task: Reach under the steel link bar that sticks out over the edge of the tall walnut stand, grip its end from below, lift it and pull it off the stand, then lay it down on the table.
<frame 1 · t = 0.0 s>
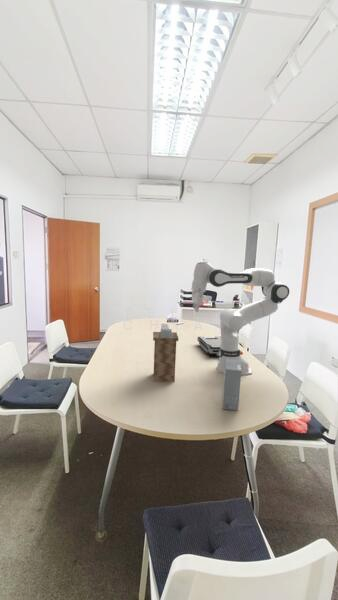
hand: (195, 309, 175), 39 cm above the table, tool pointing down, fingers open, 8 cm apart
walnut stand: (163, 377, 166), on the table
link bar: (165, 332, 167), point 26 cm above the table, touching walnut stand
game console: (215, 351, 221), on the table
hard drive box: (229, 402, 140), on the table
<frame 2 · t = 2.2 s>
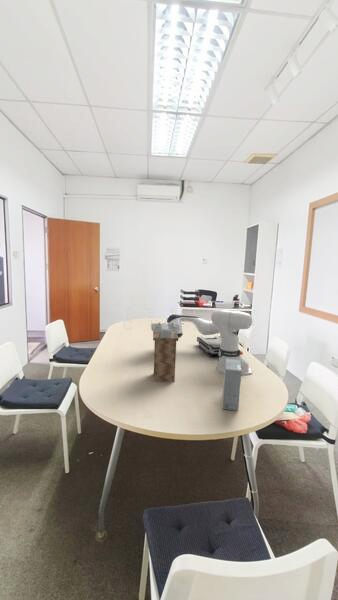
hand: (166, 323, 191), 26 cm above the table, tool pointing upward, fingers open, 8 cm apart
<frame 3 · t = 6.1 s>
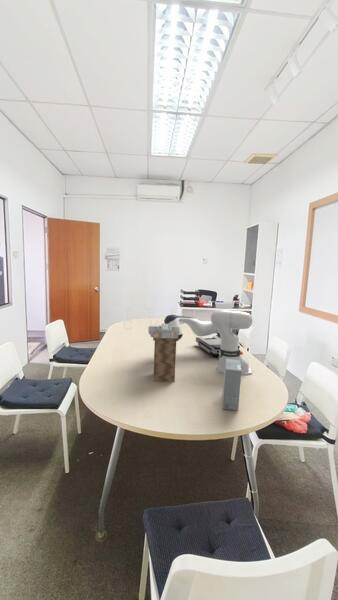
hand: (164, 326, 174), 28 cm above the table, tool pointing upward, fingers closed on link bar, 4 cm apart
link bar: (165, 332, 167), point 26 cm above the table, touching gripper, walnut stand
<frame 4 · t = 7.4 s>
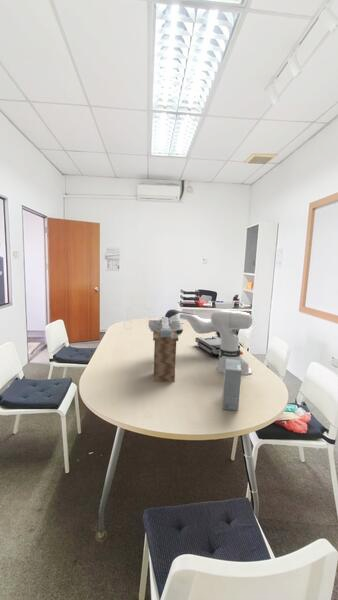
hand: (164, 320, 173), 32 cm above the table, tool pointing upward, fingers closed on link bar, 4 cm apart
link bar: (165, 329, 167), point 28 cm above the table, tilted 12°, touching gripper
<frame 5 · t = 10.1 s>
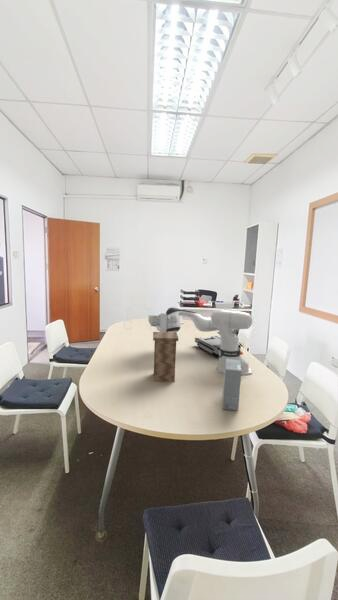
hand: (163, 315, 188), 32 cm above the table, tool pointing upward, fingers closed on link bar, 4 cm apart
link bar: (163, 330, 190), point 22 cm above the table, tilted 75°, touching gripper
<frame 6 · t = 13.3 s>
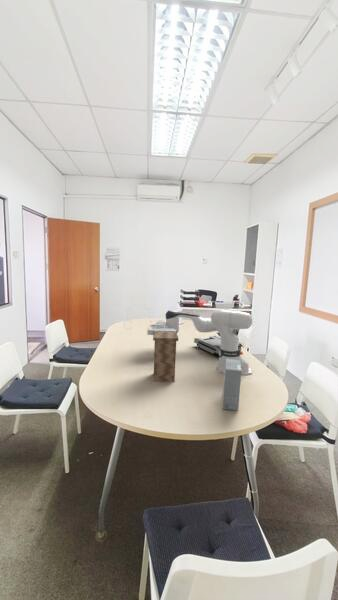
hand: (161, 334, 191), 18 cm above the table, tool horizontal, fingers closed on link bar, 4 cm apart
link bar: (161, 341, 198), point 12 cm above the table, tilted 108°, touching gripper
when the fingers open (12 cm above the table, at t = 15.0 s): link bar drops 1 cm and tips over, point 11 cm above the table.
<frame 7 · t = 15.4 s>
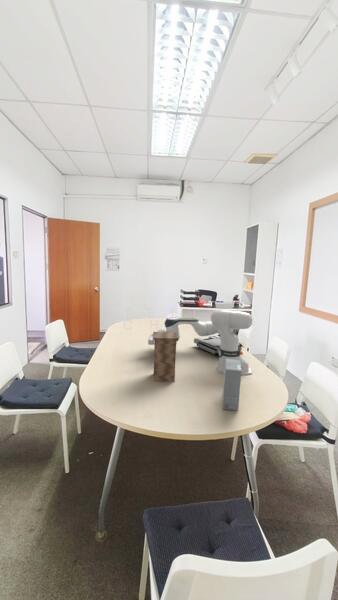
hand: (162, 344, 192), 12 cm above the table, tool horizontal, fingers open, 8 cm apart
link bar: (161, 345, 192), point 11 cm above the table, tilted 134°
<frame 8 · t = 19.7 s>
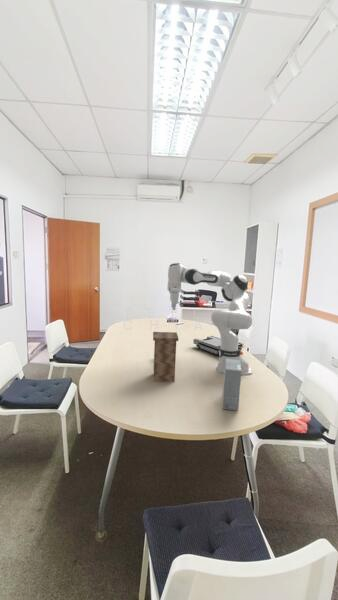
hand: (173, 308, 186), 37 cm above the table, tool pointing down, fingers open, 8 cm apart
link bar: (161, 358, 186), point 4 cm above the table, tilted 176°
at the end: link bar point 3.7 cm above the table; link bar touching table; the gripper is holding nothing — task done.
